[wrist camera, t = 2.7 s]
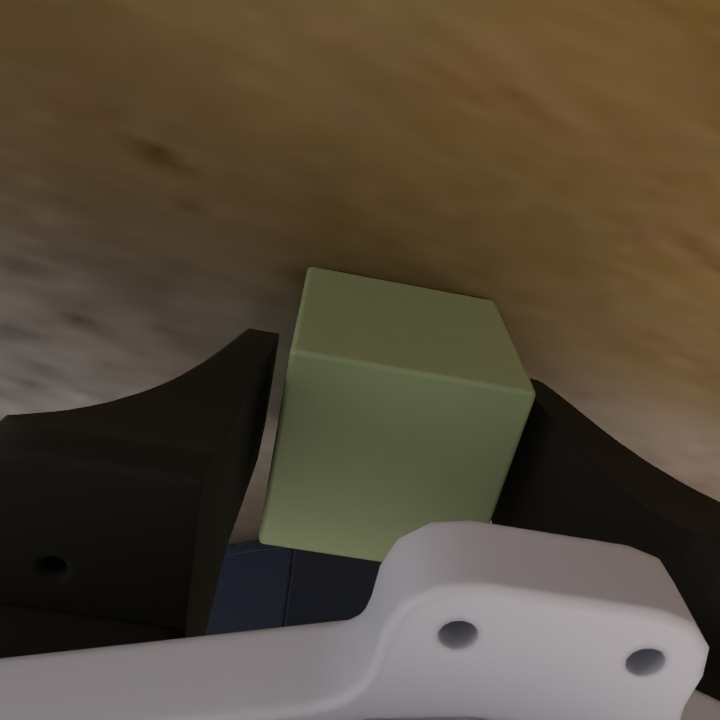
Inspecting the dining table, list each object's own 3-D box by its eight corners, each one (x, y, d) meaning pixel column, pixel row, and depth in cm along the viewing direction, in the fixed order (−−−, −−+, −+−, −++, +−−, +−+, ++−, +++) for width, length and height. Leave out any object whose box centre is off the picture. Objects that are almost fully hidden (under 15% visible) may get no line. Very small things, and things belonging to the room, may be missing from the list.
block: (447, 454, 16) (471, 577, 13) (280, 426, 16) (257, 545, 12) (495, 299, 15) (538, 393, 11) (308, 264, 14) (290, 349, 11)
